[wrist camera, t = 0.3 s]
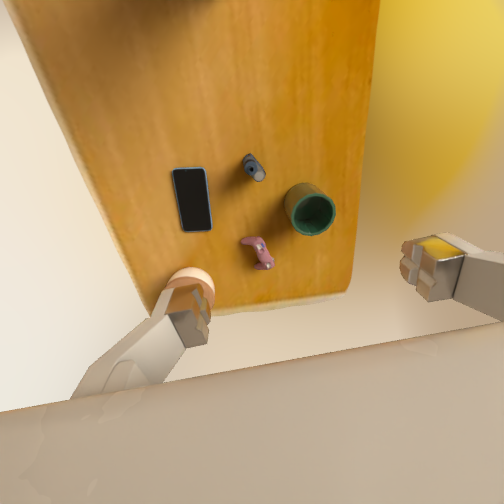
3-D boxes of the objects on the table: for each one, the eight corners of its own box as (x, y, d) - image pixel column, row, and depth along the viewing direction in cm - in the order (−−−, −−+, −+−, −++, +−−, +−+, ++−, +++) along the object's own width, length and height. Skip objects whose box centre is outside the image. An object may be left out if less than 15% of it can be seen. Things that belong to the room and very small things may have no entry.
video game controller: (267, 259, 66) (281, 267, 60) (254, 268, 65) (267, 278, 59) (252, 230, 61) (266, 235, 55) (238, 239, 60) (250, 246, 54)
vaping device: (249, 150, 50) (252, 158, 40) (264, 169, 52) (271, 182, 42) (240, 158, 51) (240, 168, 41) (255, 177, 53) (260, 191, 43)
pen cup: (281, 187, 55) (288, 198, 47) (320, 178, 54) (334, 188, 46) (286, 223, 59) (294, 239, 51) (323, 215, 59) (336, 230, 51)
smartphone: (182, 232, 58) (170, 168, 50) (183, 231, 59) (171, 167, 51) (213, 231, 58) (205, 167, 51) (213, 229, 59) (205, 166, 51)
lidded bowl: (171, 294, 68) (160, 323, 58) (170, 256, 62) (158, 281, 52) (215, 297, 69) (211, 326, 60) (218, 261, 63) (215, 286, 54)
